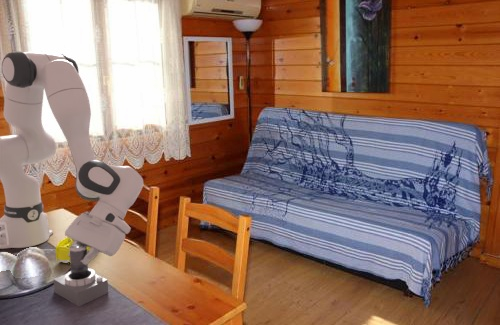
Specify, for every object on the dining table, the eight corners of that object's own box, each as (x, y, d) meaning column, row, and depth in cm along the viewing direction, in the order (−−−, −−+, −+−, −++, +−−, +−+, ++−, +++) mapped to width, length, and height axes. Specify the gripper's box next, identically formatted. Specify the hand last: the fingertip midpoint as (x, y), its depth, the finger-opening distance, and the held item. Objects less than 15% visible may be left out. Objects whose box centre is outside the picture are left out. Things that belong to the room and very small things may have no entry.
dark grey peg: (68, 277, 114) (66, 247, 112) (82, 271, 118) (80, 242, 116) (77, 282, 112) (75, 251, 110) (91, 276, 115) (90, 246, 113)
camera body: (54, 292, 116) (52, 274, 114) (83, 279, 123) (82, 262, 122) (79, 306, 109) (77, 287, 108) (108, 292, 116) (107, 274, 115)
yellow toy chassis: (71, 266, 132) (69, 242, 130) (56, 264, 133) (54, 239, 131) (100, 246, 147) (99, 224, 145) (86, 244, 148) (85, 223, 146)
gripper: (77, 204, 123) (48, 245, 117) (121, 219, 111) (90, 266, 105) (91, 215, 127) (64, 255, 121) (134, 230, 116) (106, 275, 110)
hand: (76, 260), depth 113 cm, fingers closed on dark grey peg, 4 cm apart
